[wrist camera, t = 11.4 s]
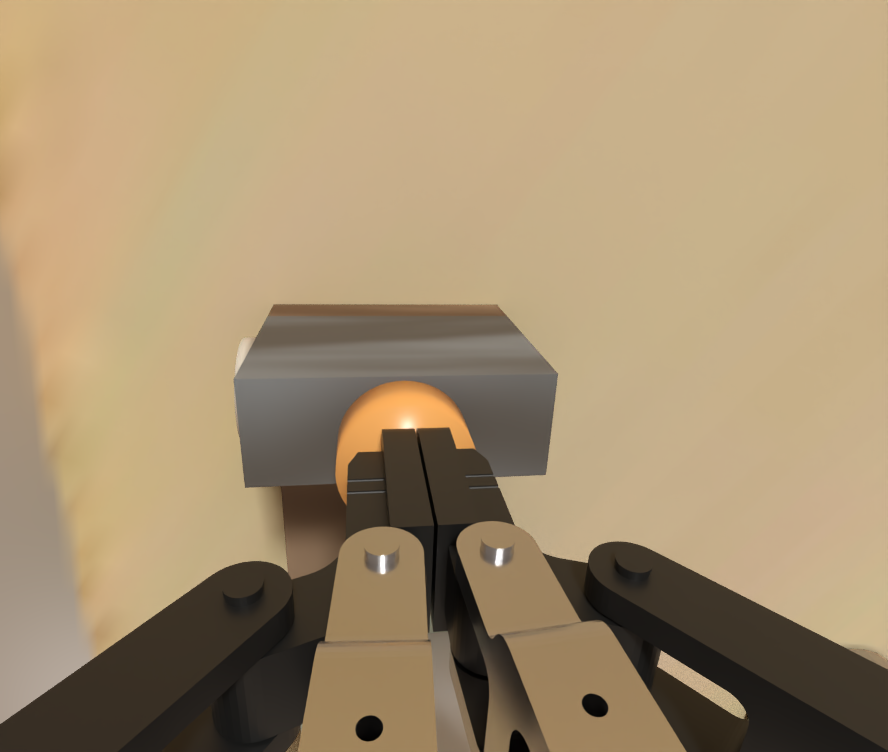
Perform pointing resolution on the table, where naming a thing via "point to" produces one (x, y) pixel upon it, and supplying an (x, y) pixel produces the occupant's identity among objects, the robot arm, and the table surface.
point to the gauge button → (394, 420)
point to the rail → (363, 368)
